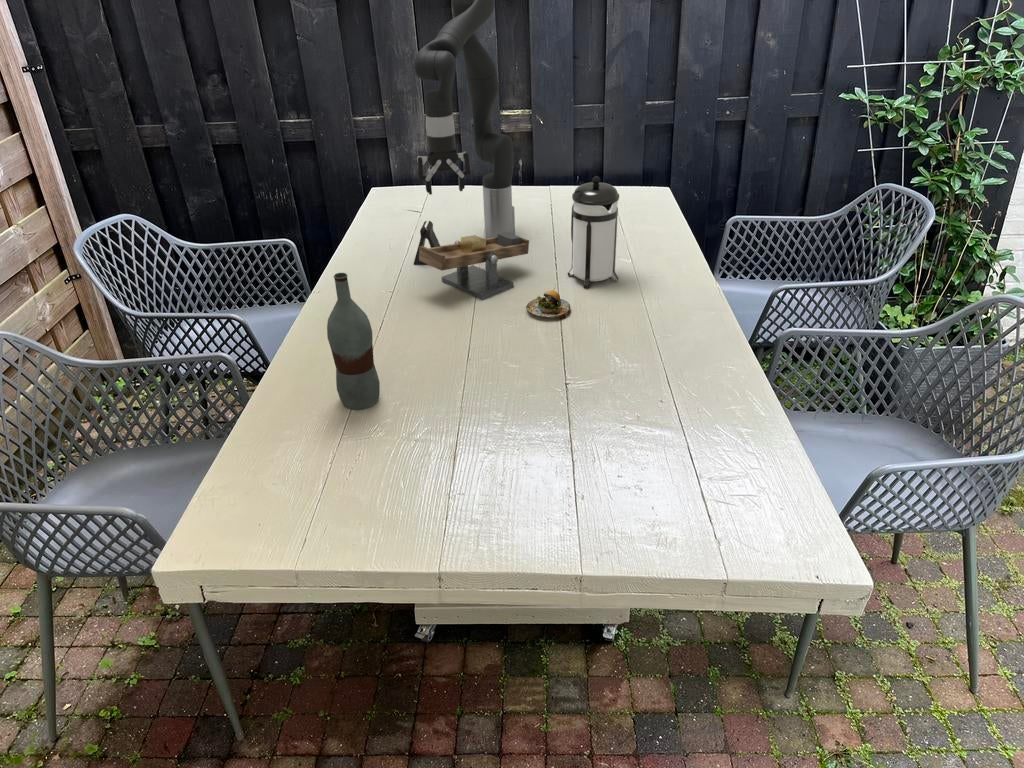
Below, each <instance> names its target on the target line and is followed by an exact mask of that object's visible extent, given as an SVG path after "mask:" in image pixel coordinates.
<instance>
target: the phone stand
mask: <svg viewBox="0 0 1024 768" xmlns="http://www.w3.org/2000/svg"><path fill="white" fill-rule="evenodd" d="M427 221H428V220H425V221H424V222H423V224H422V226H421V228H420V230H419V233H420V239H419V242H418V245H417V250H416V254H415V256H414V261H413V265H414V266H429V265H428V264H426V263H423V262H421V261H419V246H424V247H425V246H426V245H425V243H426V239H427V241H428V244H429V246H430V247H429V248H433V247H439V246H441V243H440V242H439V240H438V238H437V235H436V233H435V230H434V223H433V222H432V221H431V220H429V221H428V222H427ZM425 226H426V227H425Z"/></svg>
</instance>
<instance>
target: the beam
mask: <svg viewBox="0 0 1024 768" xmlns="http://www.w3.org/2000/svg"><path fill="white" fill-rule="evenodd" d="M504 233H507V232H504ZM485 239H486V250H485V251H479V252H474V253H469V254H466V253H463V252H461V251H460V248H461V243H457V244H454V243H452V244H446V245H440V246H439V247H433V248H431V247H426V246H425V245H424V246H419V245H418V246H419V261H421V262H423V263H426V264H428V265H427V266H430V267H433V268H435V269H436V270H440V271H441V272H443V271H449V270H453V269H457V268H458V267H463V266H468V267H469V266H472V265H479V264H483V263H484V264H485V255H487V254H490V253H496V254H497V257H498V260H503V259H508V258H514V257H519V256H523V255H524V256H525V255H527V254H529V246H530V245H529V244H530V240H529V239H526V238H524V237H522V240H521V244H518V245H512V246H507V247H503V246H501V245H498V244H497V237H492V238H486V237H485Z"/></svg>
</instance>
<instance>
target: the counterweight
mask: <svg viewBox="0 0 1024 768" xmlns="http://www.w3.org/2000/svg"><path fill="white" fill-rule="evenodd" d="M522 238H523V237H521V236H518V235H516V234H515V235H513V234H511V233H508V232H507V233H501V234H498V237H497V244H498V245H501V246H503V247H507V246H512V245H518V244H521V240H522Z"/></svg>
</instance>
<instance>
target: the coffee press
mask: <svg viewBox="0 0 1024 768" xmlns="http://www.w3.org/2000/svg"><path fill="white" fill-rule="evenodd" d="M571 195H572V196H571V198H572V201H573V203H572V206H571V218H570V219H571V220H570V221H571V225H570V226H571V227H570V234H571V235H570V236H571V237H570V238H571V245H572V246H571V253H572V254H571V268H570V270H569V272H567V276H568V277H569V278H572V277H574V276H575V277H576V278H578V279H579V280H582V281H584V284H583V288H584V289H588V290H589V289H590V286H591V283H592V282H599V281H600V282H601V281H605V280H608V279H609V280H611V281H612V282H613V283H617V282H618V281H619V276H618V275H617V273H616V257H617V256H616V255H617V237H618V234H617V233H618V215H619V208H618V203H619V202H618V201H619V200H620V193H619V192H618V190H617V189H616V187H615V186H614V185H612V184H609V183H606V182H601V178H600V176H598V175H595V176H593V177H592V178H591V182H585V183H582V184H580V185H578V186H577V187H576V188H575V189H574V192H573V193H572V194H571ZM571 271H572V273H573V274H571V273H570V272H571ZM613 275H614V277H612V276H613ZM614 278H615V279H614Z"/></svg>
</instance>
